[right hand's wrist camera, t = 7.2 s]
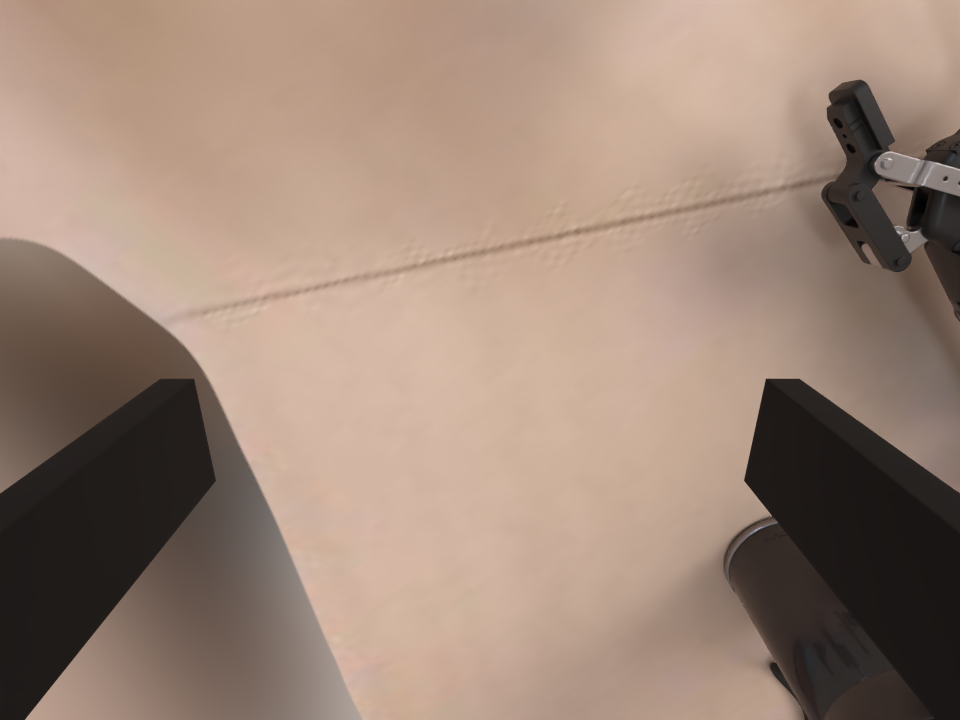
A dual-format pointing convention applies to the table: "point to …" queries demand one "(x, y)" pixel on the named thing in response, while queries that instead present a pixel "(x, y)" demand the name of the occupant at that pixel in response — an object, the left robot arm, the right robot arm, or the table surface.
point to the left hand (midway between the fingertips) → (924, 27)
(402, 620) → the table surface
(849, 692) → the left robot arm
